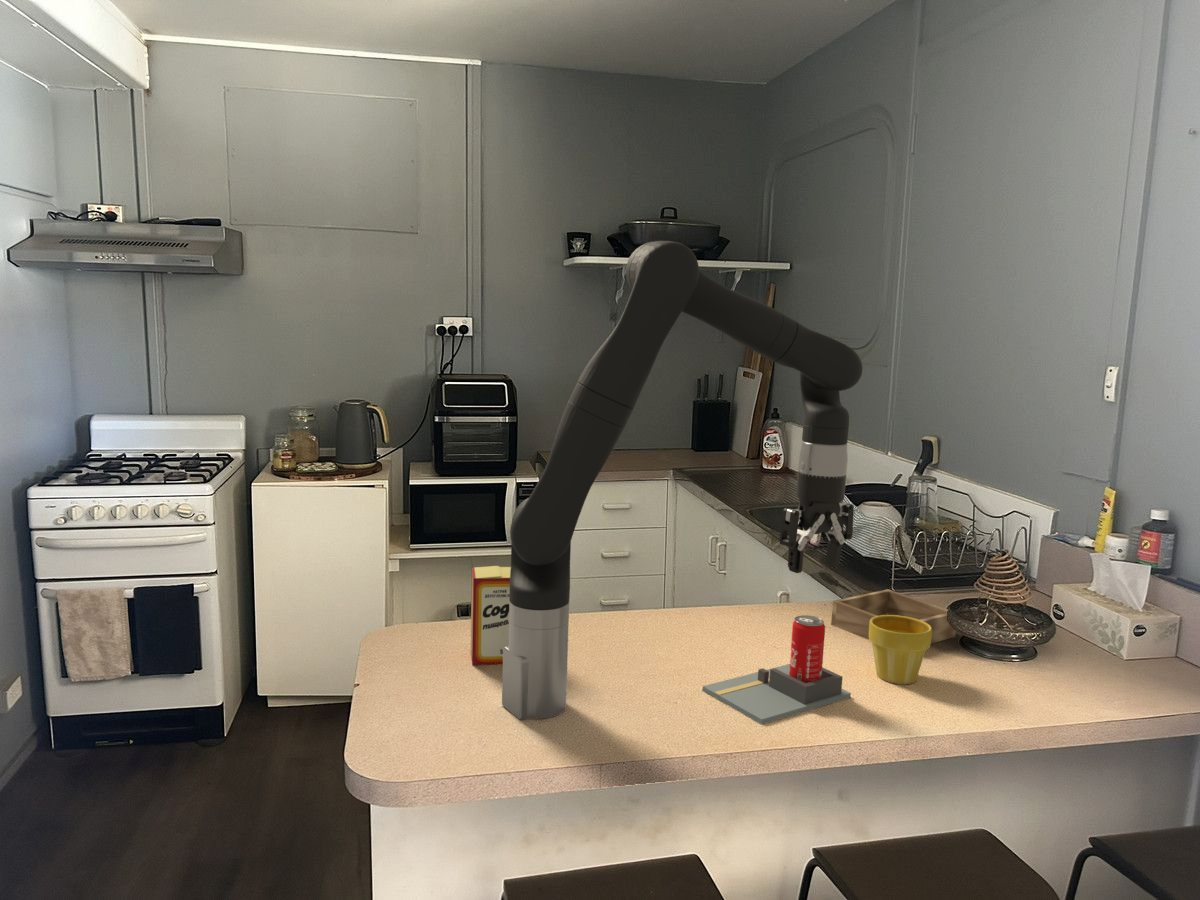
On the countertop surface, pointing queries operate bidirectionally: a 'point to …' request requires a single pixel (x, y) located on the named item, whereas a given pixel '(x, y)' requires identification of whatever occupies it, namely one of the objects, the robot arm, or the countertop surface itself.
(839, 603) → the wooden tray
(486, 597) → the baking soda box
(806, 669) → the beverage can
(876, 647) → the plant pot
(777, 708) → the board
